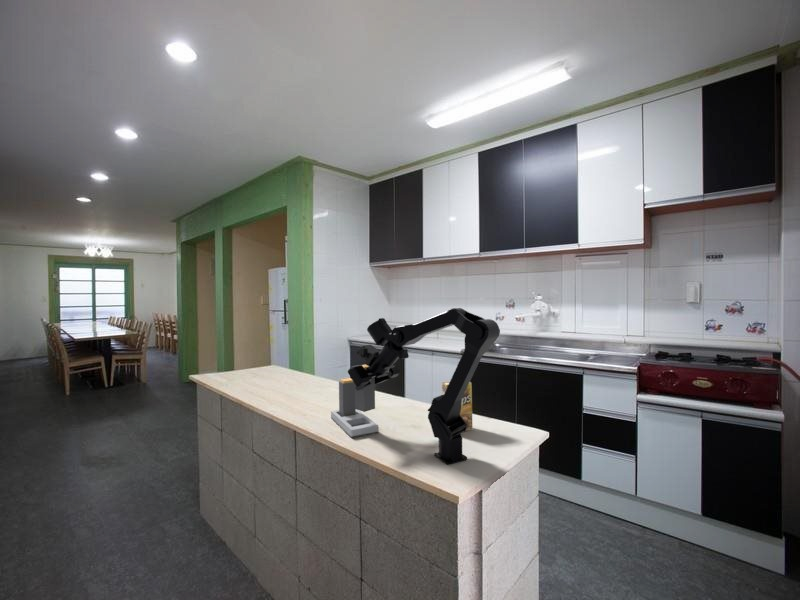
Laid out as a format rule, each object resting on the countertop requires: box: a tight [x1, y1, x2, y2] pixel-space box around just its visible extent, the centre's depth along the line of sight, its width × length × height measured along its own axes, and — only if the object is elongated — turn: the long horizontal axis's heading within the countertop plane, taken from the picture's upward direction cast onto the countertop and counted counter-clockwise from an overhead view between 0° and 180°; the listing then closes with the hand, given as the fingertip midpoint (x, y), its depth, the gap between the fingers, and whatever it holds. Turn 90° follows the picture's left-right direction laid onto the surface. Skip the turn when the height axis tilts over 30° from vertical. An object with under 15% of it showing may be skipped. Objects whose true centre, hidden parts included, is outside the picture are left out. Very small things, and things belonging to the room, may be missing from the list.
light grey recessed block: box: [330, 409, 379, 439], centre depth 122 cm, size 22×9×2 cm, turn 27°
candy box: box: [441, 381, 474, 432], centre depth 116 cm, size 9×4×15 cm, turn 107°
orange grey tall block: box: [355, 364, 376, 413], centre depth 115 cm, size 4×4×14 cm
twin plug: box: [338, 377, 356, 417], centre depth 127 cm, size 4×4×14 cm
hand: (361, 387), depth 116 cm, fingers closed on orange grey tall block, 5 cm apart
